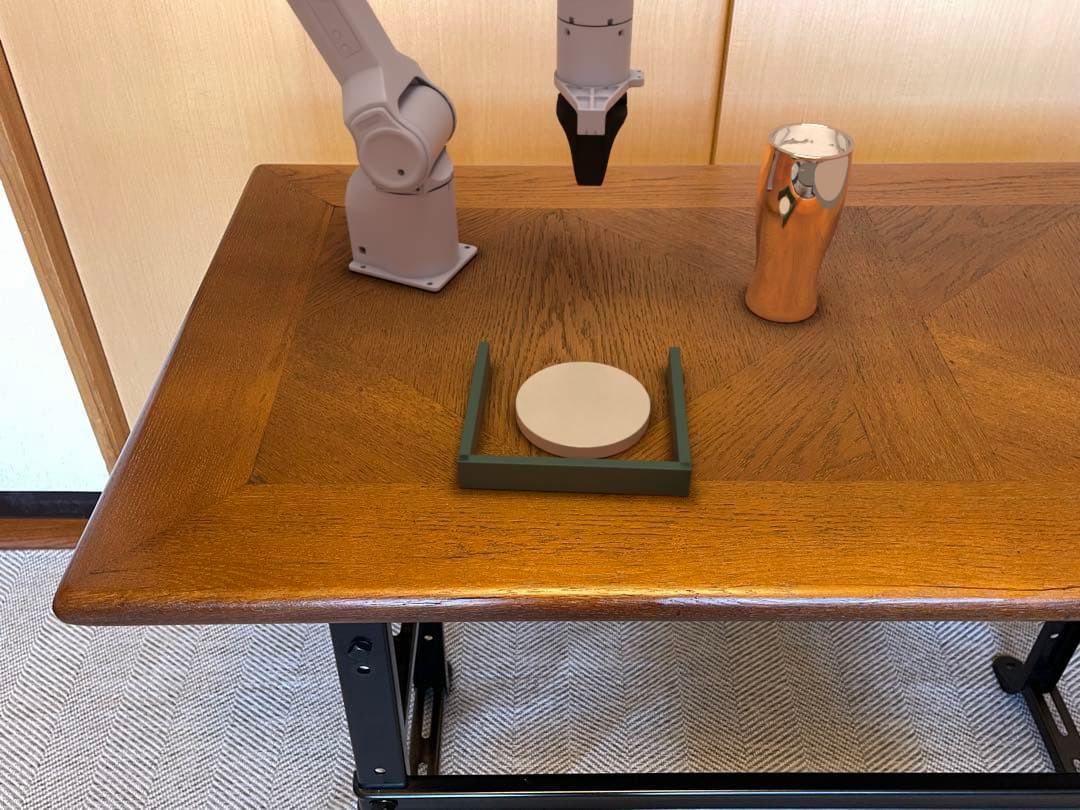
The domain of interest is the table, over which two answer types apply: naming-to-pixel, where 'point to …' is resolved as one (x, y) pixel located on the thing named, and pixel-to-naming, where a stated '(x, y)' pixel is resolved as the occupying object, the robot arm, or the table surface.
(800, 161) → the beer glass
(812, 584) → the table surface
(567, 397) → the plate
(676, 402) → the green u-shaped bracket
